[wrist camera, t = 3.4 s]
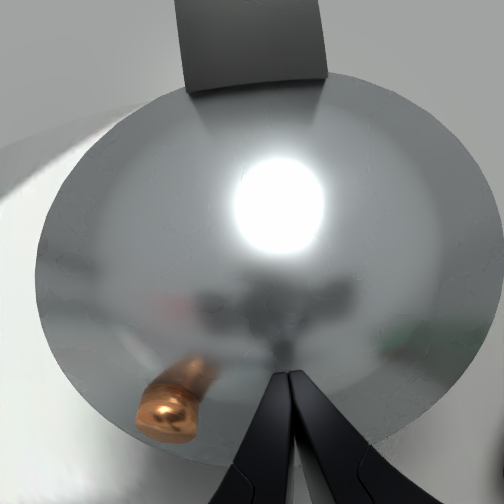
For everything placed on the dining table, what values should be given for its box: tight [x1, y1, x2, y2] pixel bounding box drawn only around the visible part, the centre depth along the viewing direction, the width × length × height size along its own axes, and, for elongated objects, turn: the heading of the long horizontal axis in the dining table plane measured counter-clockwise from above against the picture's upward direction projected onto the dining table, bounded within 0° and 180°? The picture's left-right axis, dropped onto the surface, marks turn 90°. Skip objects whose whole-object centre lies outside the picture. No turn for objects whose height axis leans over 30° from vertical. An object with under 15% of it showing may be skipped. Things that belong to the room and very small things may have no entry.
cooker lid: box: [35, 0, 504, 467], centre depth 8 cm, size 20×16×2 cm
